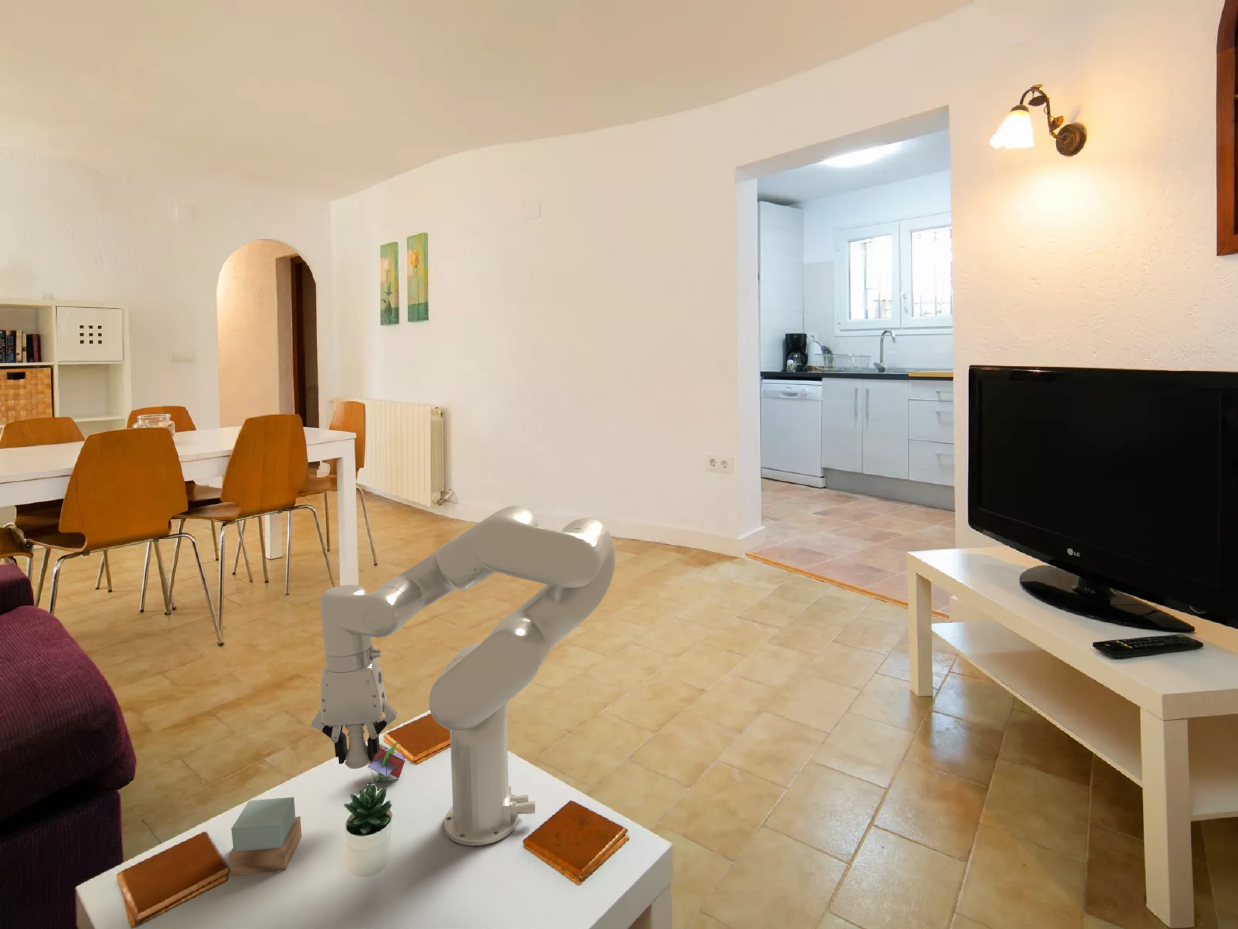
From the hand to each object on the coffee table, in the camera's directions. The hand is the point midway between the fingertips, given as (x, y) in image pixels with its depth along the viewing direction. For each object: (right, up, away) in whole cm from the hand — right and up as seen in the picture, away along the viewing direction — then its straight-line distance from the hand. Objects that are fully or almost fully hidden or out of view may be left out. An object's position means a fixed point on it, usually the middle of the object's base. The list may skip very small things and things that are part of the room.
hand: (358, 757), depth 121 cm
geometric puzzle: (+1, -9, +13) cm, 16 cm away
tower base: (-11, -12, -9) cm, 19 cm away
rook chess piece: (0, -1, 0) cm, 1 cm away
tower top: (-11, -9, -9) cm, 17 cm away
